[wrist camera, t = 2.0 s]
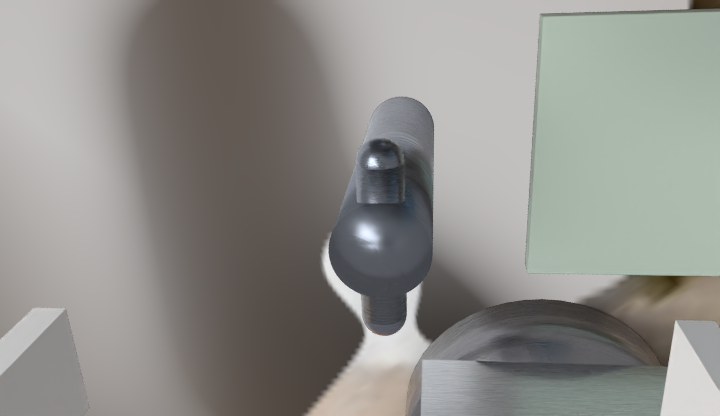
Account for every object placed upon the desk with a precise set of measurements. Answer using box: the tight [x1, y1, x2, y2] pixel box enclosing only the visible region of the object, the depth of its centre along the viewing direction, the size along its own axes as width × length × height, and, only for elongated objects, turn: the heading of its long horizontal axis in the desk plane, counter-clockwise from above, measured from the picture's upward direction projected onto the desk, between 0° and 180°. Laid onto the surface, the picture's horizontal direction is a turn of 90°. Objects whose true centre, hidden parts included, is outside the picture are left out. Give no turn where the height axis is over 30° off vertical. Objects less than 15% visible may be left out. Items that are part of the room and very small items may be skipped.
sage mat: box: [525, 9, 720, 276], centre depth 30 cm, size 12×12×1 cm
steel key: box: [329, 97, 434, 336], centre depth 25 cm, size 6×3×13 cm, turn 2°
